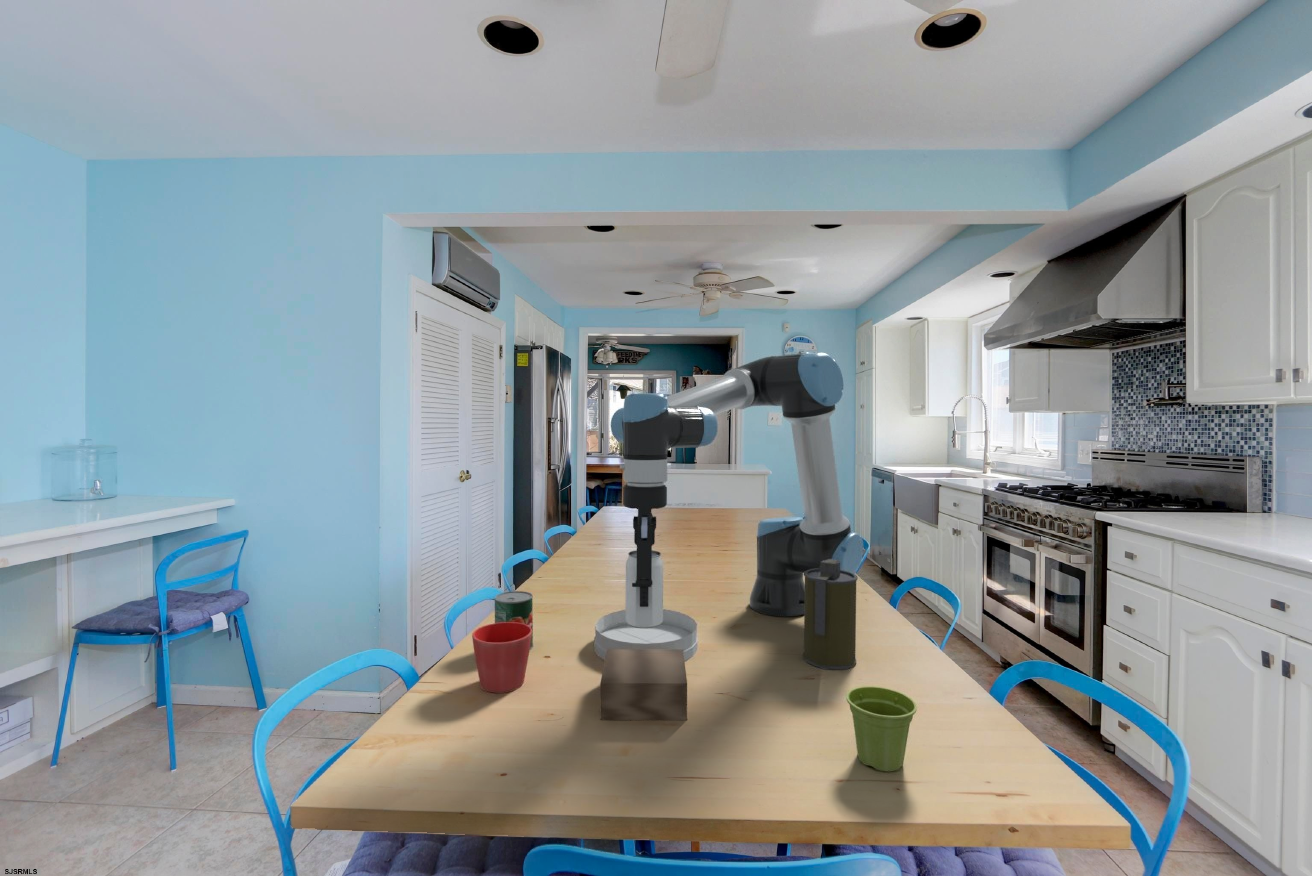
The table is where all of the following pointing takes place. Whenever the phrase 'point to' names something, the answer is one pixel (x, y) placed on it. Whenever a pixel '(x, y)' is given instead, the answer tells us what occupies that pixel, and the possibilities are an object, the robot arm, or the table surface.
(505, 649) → the flower pot
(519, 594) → the canned tomato
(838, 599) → the canister
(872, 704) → the plant pot
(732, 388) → the robot arm
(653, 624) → the can
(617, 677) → the walnut base
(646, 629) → the dish
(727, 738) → the table surface
